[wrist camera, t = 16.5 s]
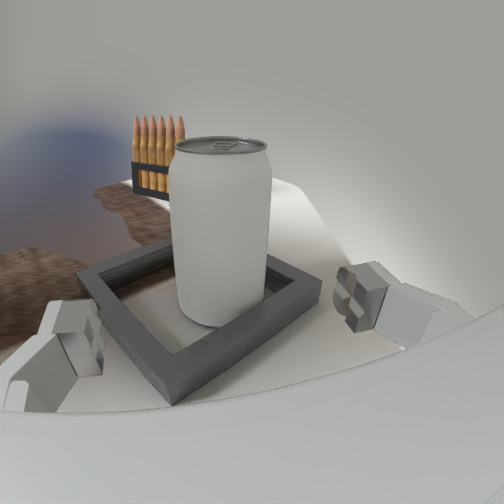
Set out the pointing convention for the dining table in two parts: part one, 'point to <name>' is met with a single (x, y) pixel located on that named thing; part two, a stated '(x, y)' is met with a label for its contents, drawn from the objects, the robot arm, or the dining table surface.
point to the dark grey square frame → (209, 347)
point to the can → (219, 225)
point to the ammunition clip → (154, 155)
